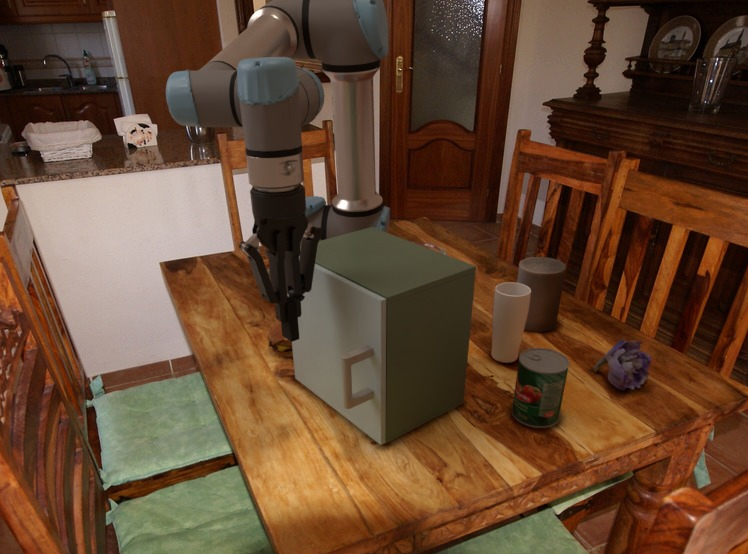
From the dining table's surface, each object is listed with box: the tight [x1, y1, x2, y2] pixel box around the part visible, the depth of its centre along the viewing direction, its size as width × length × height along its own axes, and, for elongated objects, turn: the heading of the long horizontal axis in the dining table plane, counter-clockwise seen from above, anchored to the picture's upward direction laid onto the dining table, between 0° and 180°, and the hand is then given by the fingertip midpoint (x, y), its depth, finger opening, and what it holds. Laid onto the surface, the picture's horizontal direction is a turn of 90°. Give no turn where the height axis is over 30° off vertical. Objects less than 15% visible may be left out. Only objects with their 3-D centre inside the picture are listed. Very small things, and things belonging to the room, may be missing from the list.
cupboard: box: [300, 227, 477, 444], centre depth 100 cm, size 18×26×26 cm
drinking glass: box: [490, 281, 531, 364], centre depth 112 cm, size 7×7×15 cm
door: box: [288, 256, 386, 446], centre depth 94 cm, size 6×26×26 cm, turn 37°
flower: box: [593, 339, 652, 391], centre depth 105 cm, size 9×9×10 cm
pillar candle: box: [516, 256, 567, 333], centre depth 125 cm, size 10×10×15 cm
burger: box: [266, 322, 293, 358], centre depth 120 cm, size 10×9×5 cm
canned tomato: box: [511, 347, 570, 429], centre depth 96 cm, size 8×8×11 cm
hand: (290, 337), depth 90 cm, fingers closed
